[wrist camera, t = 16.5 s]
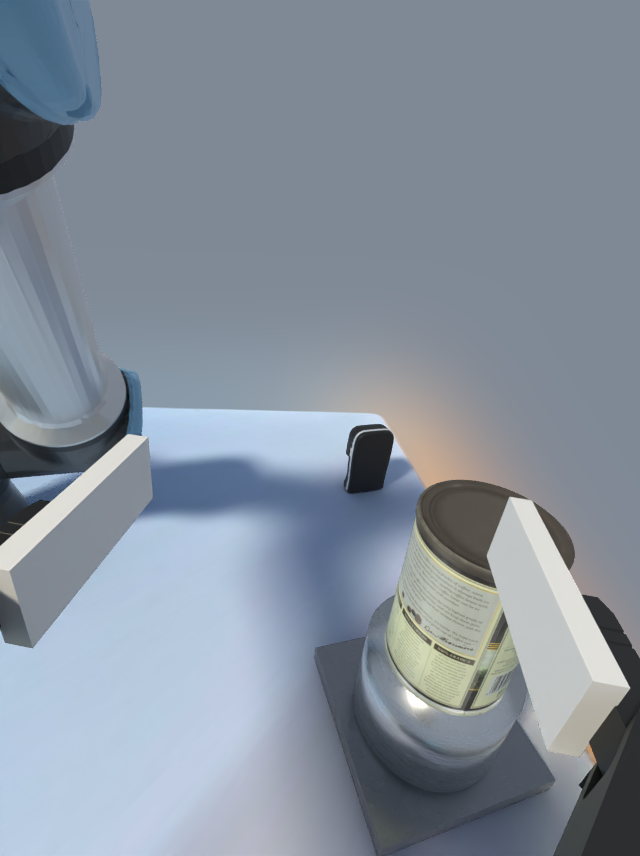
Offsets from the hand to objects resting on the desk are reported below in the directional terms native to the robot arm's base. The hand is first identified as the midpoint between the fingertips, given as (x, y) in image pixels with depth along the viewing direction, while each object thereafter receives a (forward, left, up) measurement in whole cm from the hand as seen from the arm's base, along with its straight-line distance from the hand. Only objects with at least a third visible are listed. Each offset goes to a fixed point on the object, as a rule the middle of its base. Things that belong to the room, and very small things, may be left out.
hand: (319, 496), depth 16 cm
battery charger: (-42, +25, -32) cm, 58 cm away
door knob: (-6, +16, -32) cm, 36 cm away
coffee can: (-6, +15, -23) cm, 28 cm away
